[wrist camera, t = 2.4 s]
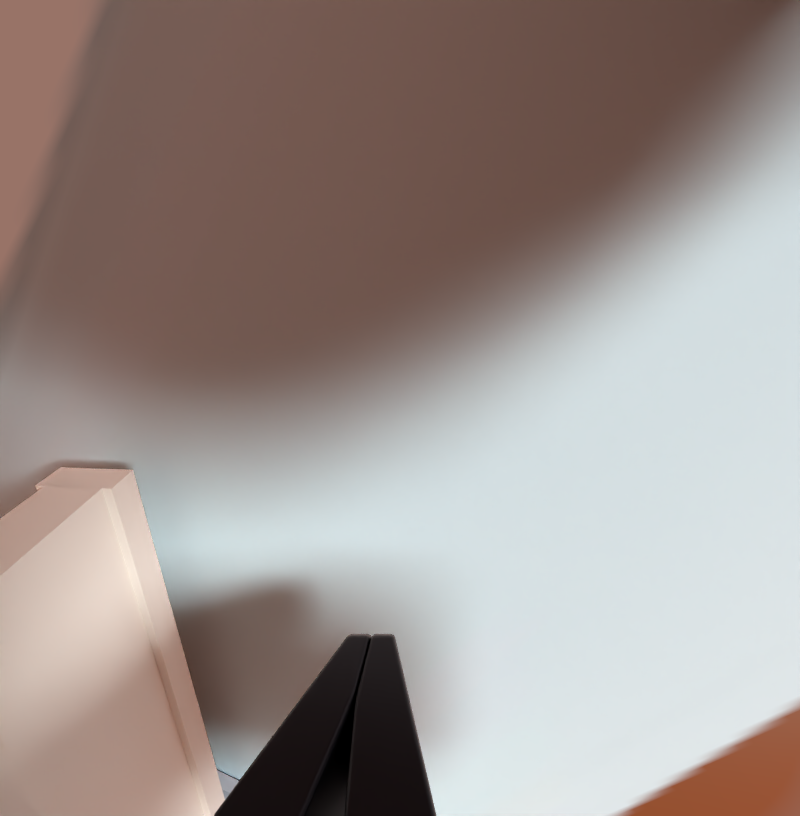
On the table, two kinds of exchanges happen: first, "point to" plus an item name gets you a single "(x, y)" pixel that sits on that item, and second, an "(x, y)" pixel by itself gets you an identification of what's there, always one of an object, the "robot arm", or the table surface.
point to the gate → (94, 661)
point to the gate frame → (226, 783)
